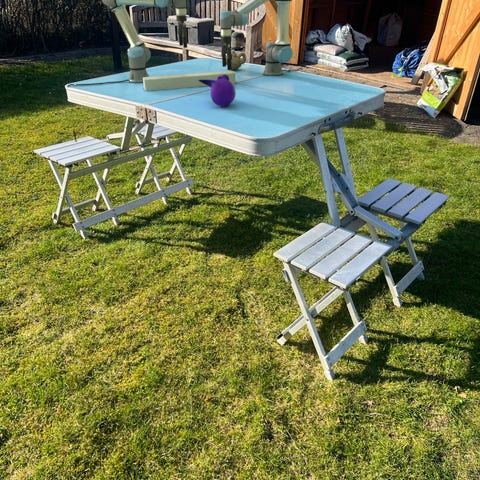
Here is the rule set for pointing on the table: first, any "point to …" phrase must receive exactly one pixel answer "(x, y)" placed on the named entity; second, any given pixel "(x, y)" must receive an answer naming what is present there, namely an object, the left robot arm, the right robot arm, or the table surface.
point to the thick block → (183, 80)
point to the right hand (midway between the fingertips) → (226, 68)
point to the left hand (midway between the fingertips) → (183, 46)
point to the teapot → (237, 60)
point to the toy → (221, 90)
